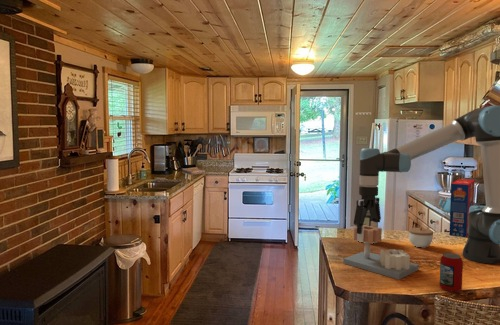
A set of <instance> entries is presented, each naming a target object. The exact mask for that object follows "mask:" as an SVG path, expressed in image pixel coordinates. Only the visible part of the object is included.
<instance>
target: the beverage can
mask: <svg viewBox="0 0 500 325" xmlns="http://www.w3.org/2000/svg"><path fill="white" fill-rule="evenodd" d="M461 256H462V255H460V254H458V253H454V252H443V253H442V255H441V257H440V265H439V267H440V268H439V269H440V270H439V287H441V288H442V290H445V291H447V292H449V293H457V292H460V291H462V288H463V268H464V267H463V265H464V263H463V259H462V257H461Z"/></svg>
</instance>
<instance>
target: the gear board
mask: <svg viewBox="0 0 500 325" xmlns="http://www.w3.org/2000/svg"><path fill="white" fill-rule="evenodd" d="M363 247H364V248H363V250H364V251H361V252H357V253H355V254H352V255H350V256H347V257H344V258H343V264H344V265H348V266H351V267H355V268H358V269H362V270H365V271H369V272H372V273H376V274H378V275H382V276H386V277H389V278H392V279H396V280H401V279H403V278H405V277H407V276H409V275H411V274H413V273H415V272H417V271H418V270H419V265H420V264H416V263H414V262H410V263H409V269H401V270H396V269H395V268H391V269H387V268H385V266H382V265H381V262H380V254H378V253H373V252H371V244H368V243H364V246H363ZM398 250H399V249H393V250H392V254H398Z"/></svg>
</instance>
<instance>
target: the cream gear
mask: <svg viewBox="0 0 500 325" xmlns="http://www.w3.org/2000/svg"><path fill="white" fill-rule="evenodd" d="M392 250H394V249H393V248H389V249H380V250H379V255H380V262H381V265H382V266H385V268H387V269H391V268H395V269H396V270H401V269H409V263H411V262H410V261H411V259H410V258H411V257H410V255H409V254H408V252H405V251H404V249H397V250H398V254H392Z"/></svg>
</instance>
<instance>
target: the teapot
mask: <svg viewBox="0 0 500 325" xmlns="http://www.w3.org/2000/svg"><path fill="white" fill-rule="evenodd" d="M450 205H451V197H450V198H449V197H447V198H446V199H443V198H441V199H439V202H438V206H439V207H440V208H441V209H442V211H443V212H444V213H448V214H450Z"/></svg>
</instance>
